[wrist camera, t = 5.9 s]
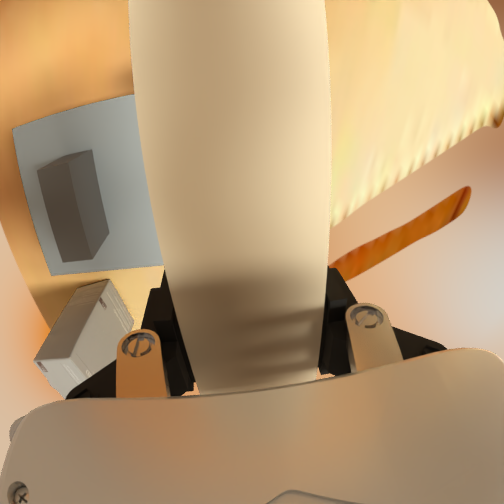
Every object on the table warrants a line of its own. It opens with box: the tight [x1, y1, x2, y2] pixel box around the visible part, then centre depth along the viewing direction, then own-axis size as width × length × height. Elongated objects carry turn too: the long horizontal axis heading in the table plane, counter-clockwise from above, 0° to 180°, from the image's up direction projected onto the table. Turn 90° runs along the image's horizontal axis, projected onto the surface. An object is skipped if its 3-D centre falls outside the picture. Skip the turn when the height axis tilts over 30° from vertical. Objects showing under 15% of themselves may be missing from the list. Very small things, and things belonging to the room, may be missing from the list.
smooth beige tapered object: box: [128, 0, 332, 395], centre depth 11 cm, size 4×24×4 cm, turn 3°
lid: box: [12, 94, 164, 276], centre depth 24 cm, size 26×16×8 cm, turn 93°
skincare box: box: [33, 279, 134, 399], centre depth 35 cm, size 8×7×16 cm
